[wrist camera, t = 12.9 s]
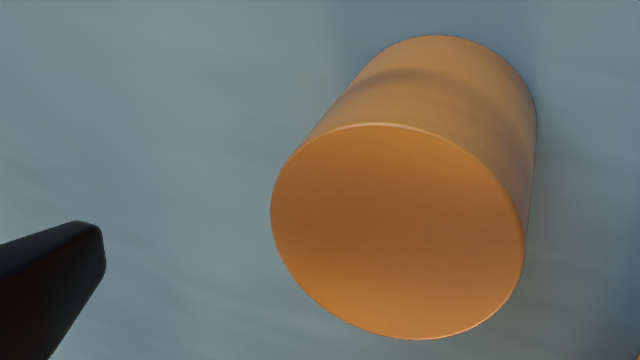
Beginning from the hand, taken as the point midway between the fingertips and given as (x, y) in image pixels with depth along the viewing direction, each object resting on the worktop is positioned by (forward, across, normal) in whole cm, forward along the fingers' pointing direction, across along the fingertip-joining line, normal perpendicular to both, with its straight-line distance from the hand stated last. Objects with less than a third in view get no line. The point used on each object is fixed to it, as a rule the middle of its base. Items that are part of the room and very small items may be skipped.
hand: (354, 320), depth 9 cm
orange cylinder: (+7, 0, 0) cm, 7 cm away
